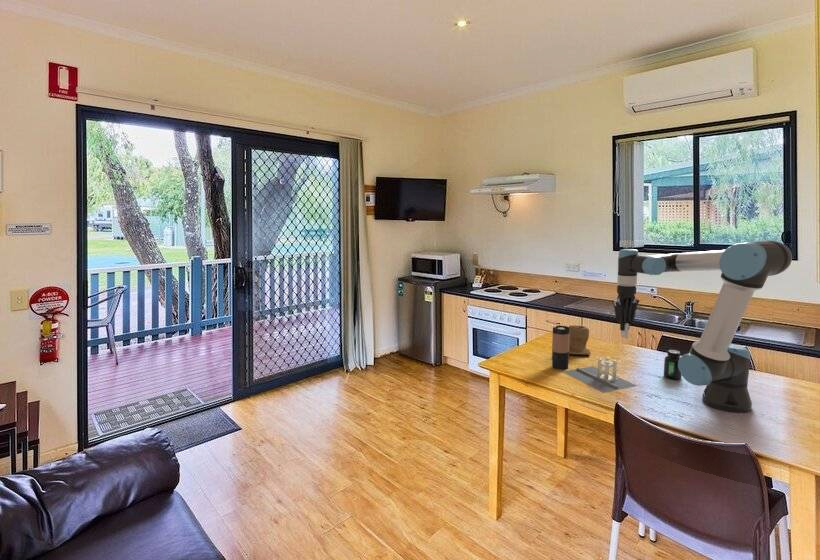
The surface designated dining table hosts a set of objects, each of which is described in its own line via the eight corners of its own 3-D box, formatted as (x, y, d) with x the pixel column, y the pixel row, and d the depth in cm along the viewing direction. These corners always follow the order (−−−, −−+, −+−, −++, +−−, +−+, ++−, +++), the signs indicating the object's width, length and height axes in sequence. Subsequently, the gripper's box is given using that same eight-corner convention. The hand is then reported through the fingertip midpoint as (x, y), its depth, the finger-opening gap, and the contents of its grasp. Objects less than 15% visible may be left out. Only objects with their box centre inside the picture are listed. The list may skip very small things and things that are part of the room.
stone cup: (588, 350, 230) (589, 323, 228) (592, 357, 218) (593, 329, 216) (558, 349, 233) (559, 322, 231) (561, 356, 222) (561, 328, 220)
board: (637, 386, 181) (637, 383, 181) (603, 393, 175) (603, 390, 175) (593, 366, 205) (593, 364, 205) (561, 372, 200) (561, 369, 199)
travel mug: (569, 371, 201) (570, 329, 198) (552, 370, 202) (553, 329, 199) (567, 365, 208) (568, 325, 205) (550, 364, 210) (551, 325, 207)
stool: (617, 380, 187) (618, 360, 186) (606, 382, 185) (607, 362, 184) (606, 375, 193) (607, 356, 192) (596, 377, 191) (596, 358, 190)
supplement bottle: (672, 381, 185) (674, 354, 184) (659, 375, 192) (661, 350, 190) (685, 379, 187) (687, 352, 186) (671, 373, 194) (673, 348, 192)
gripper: (631, 282, 191) (629, 333, 195) (608, 284, 187) (606, 336, 191) (645, 284, 184) (642, 337, 188) (621, 287, 180) (619, 341, 184)
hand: (624, 337), depth 189 cm, fingers closed
